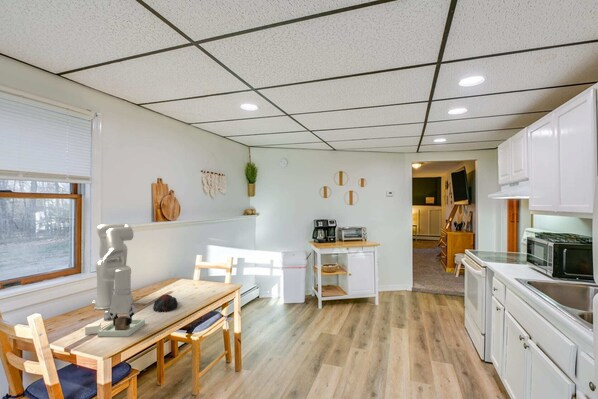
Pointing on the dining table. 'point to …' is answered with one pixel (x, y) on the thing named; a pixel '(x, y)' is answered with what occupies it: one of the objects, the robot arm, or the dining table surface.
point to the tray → (110, 331)
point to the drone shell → (165, 303)
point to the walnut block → (121, 323)
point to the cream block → (92, 328)
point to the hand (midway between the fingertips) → (122, 324)
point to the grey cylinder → (107, 315)
